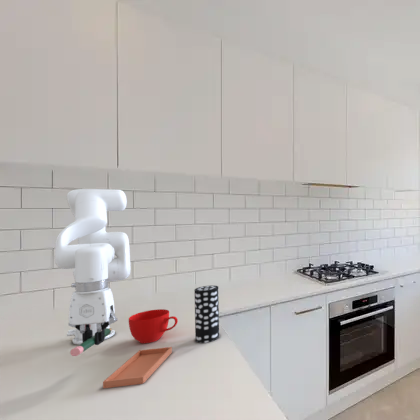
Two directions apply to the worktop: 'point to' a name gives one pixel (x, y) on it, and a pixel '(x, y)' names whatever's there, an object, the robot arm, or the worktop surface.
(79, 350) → the pencil
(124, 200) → the robot arm
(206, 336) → the white-spotted black cylinder
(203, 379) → the worktop surface
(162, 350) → the pencil tray
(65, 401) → the worktop surface
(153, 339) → the ceramic cup
